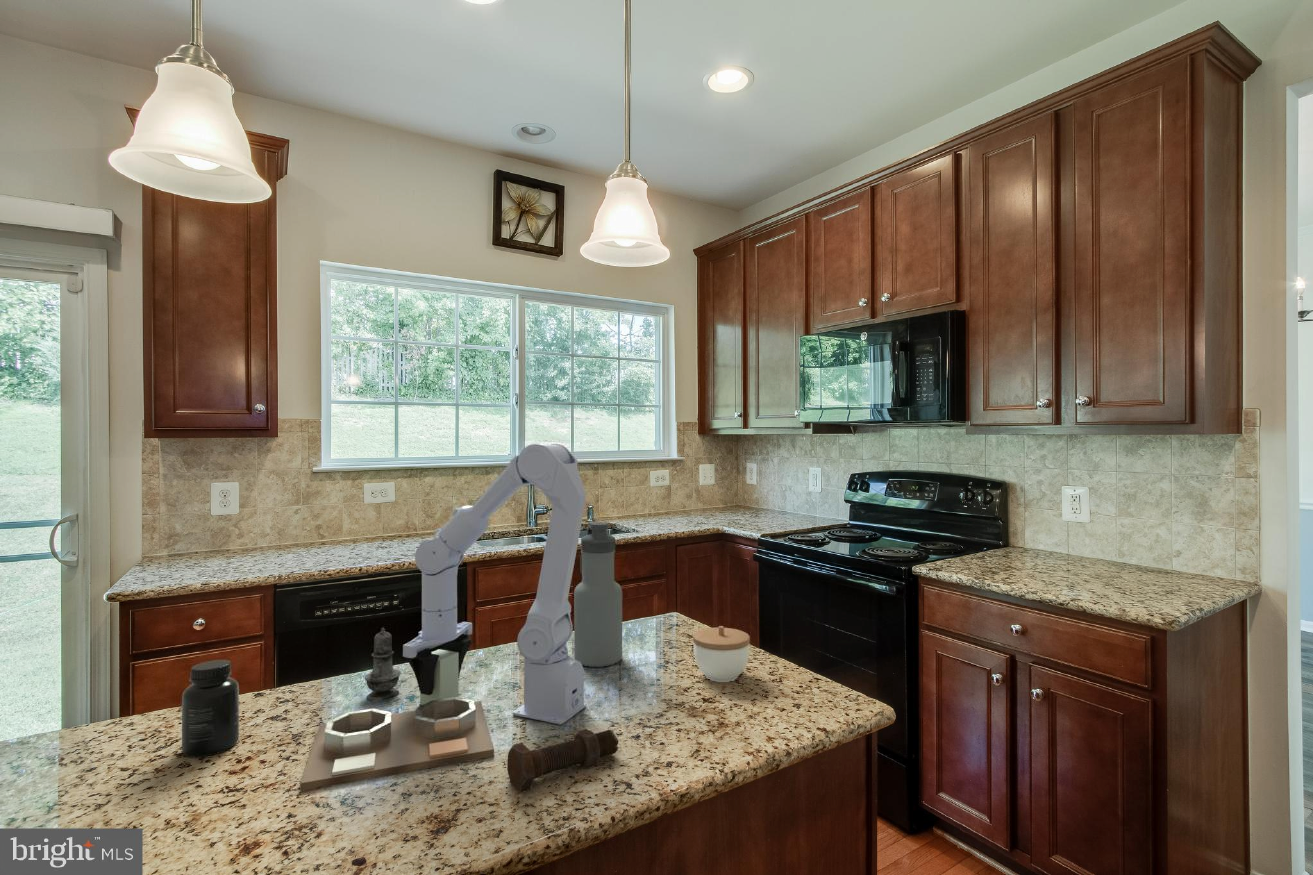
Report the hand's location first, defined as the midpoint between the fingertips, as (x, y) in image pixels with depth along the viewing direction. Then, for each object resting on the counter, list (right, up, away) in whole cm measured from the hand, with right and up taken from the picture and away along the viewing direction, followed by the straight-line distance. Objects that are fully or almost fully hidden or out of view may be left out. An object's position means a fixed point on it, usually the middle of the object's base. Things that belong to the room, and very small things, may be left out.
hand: (439, 686), depth 108 cm
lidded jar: (+50, -3, +11) cm, 51 cm away
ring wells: (-1, -1, -14) cm, 14 cm away
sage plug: (0, -2, 0) cm, 2 cm away
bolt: (+25, -3, -23) cm, 34 cm away
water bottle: (+25, -3, +21) cm, 33 cm away
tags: (+2, -1, -21) cm, 22 cm away
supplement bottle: (-28, -3, -16) cm, 32 cm away
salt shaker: (-11, -3, +3) cm, 11 cm away
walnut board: (0, -2, -15) cm, 15 cm away
